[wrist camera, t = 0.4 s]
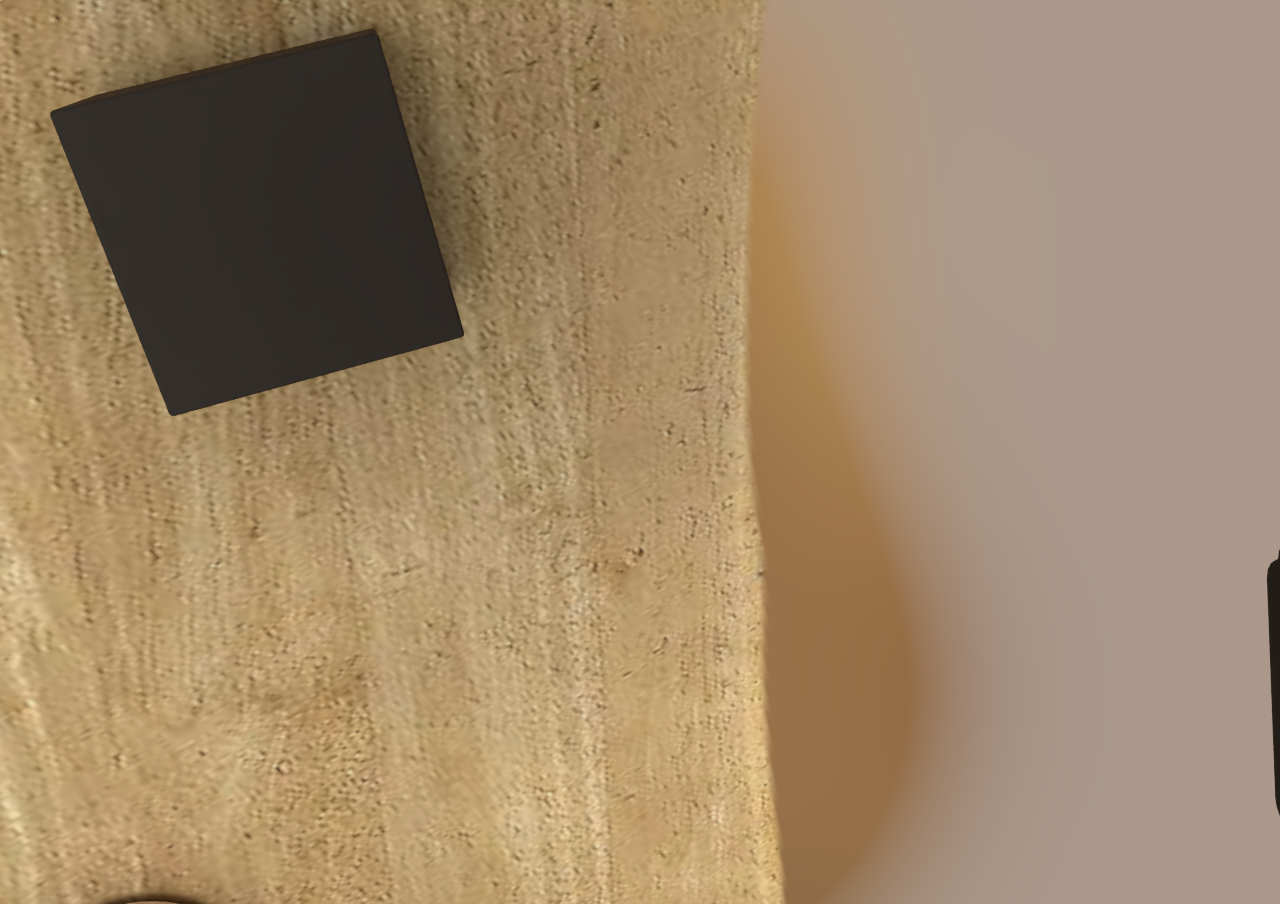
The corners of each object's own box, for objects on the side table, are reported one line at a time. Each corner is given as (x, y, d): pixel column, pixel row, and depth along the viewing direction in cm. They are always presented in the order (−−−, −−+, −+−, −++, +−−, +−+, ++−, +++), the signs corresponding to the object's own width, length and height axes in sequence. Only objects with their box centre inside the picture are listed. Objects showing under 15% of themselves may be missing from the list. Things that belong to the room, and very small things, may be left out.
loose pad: (93, 95, 25) (47, 111, 22) (375, 27, 26) (377, 31, 22) (195, 362, 28) (170, 418, 24) (452, 293, 28) (465, 337, 25)
